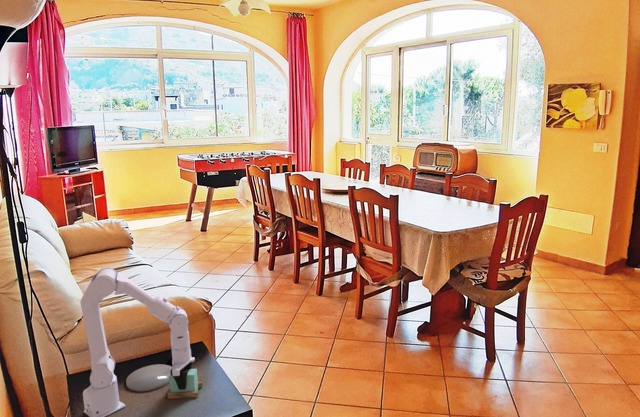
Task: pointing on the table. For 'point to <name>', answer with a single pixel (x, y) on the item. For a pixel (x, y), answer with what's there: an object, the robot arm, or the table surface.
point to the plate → (149, 378)
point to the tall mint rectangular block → (190, 382)
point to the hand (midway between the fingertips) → (184, 385)
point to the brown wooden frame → (183, 393)
